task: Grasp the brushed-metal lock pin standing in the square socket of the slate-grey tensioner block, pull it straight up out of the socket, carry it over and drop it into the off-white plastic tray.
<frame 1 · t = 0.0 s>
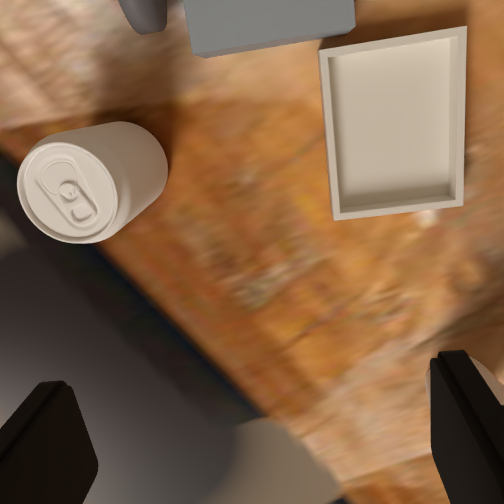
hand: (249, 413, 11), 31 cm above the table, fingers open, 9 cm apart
tray: (388, 128, 38), on the table
beverage can: (128, 165, 41), on the table
foam cup: (454, 378, 47), on the table
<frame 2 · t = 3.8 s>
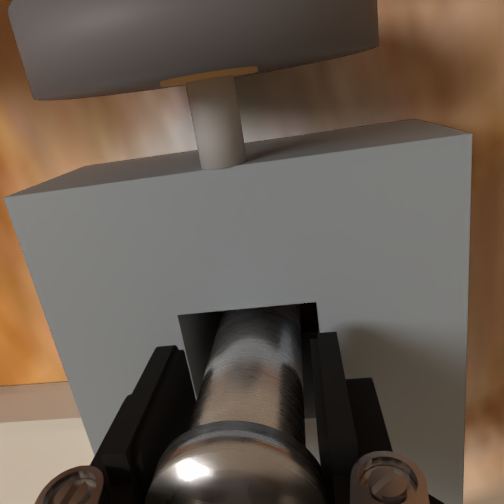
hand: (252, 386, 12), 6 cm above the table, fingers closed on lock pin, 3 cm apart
tray: (21, 475, 22), on the table
lock pin: (255, 367, 13), in the tensioner block, touching gripper
tensioner block: (264, 293, 18), on the table
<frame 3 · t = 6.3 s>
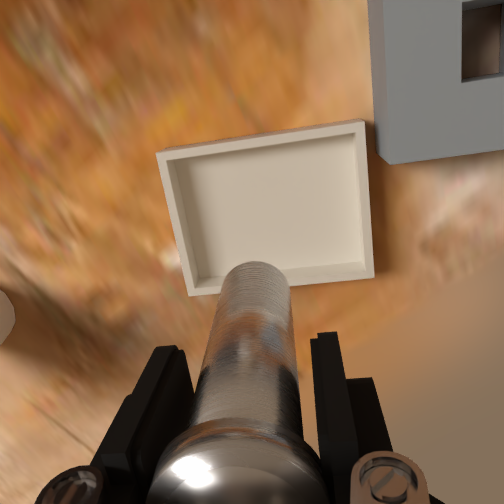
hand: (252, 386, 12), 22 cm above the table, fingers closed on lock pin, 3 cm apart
tray: (270, 207, 33), on the table
lock pin: (249, 366, 13), point 21 cm above the table, touching gripper
tensioner block: (466, 44, 28), on the table
when the fingers open (8 cm above the table, at t = 9.2 s): lock pin drops 1 cm, resting on tray.
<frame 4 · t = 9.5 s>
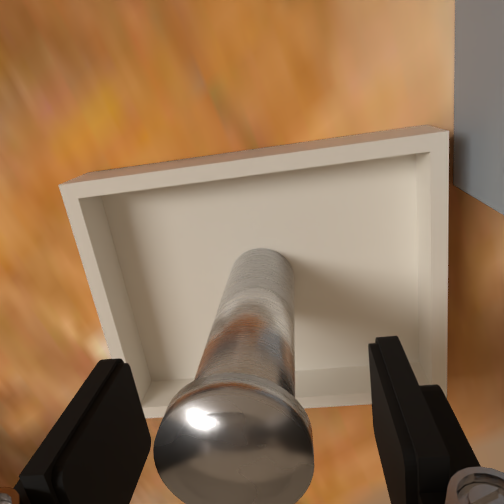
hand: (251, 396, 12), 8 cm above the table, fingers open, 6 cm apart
tray: (266, 273, 20), on the table
lock pin: (252, 340, 14), in the tray, point 6 cm above the table
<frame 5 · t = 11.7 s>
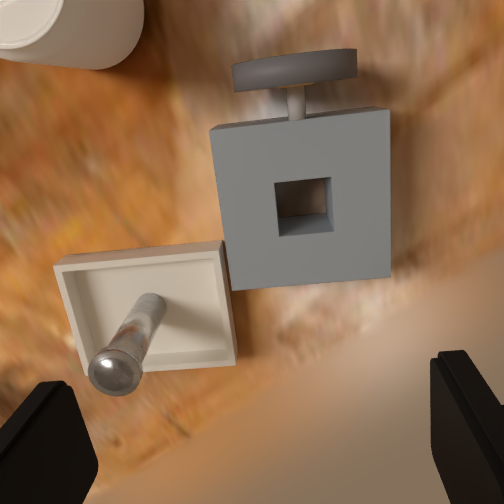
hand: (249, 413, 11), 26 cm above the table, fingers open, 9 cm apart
tray: (154, 303, 40), on the table
beverage can: (92, 10, 32), on the table
lock pin: (135, 336, 34), in the tray, point 6 cm above the table
tensioner block: (300, 192, 35), on the table
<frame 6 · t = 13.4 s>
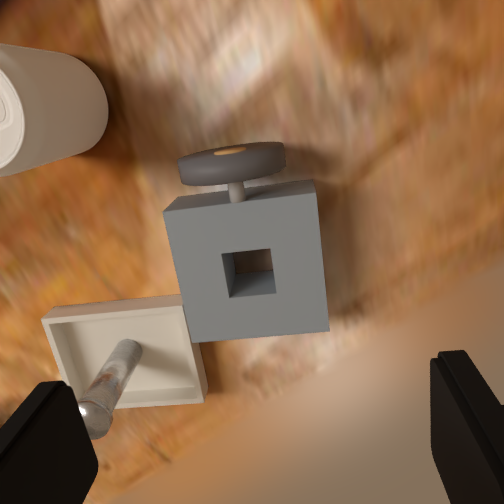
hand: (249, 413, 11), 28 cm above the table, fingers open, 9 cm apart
tray: (133, 347, 45), on the table
beverage can: (66, 105, 37), on the table
lock pin: (110, 382, 40), in the tray, point 6 cm above the table
tensioner block: (253, 252, 40), on the table
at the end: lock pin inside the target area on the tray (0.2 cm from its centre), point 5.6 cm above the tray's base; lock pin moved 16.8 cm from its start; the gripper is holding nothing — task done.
